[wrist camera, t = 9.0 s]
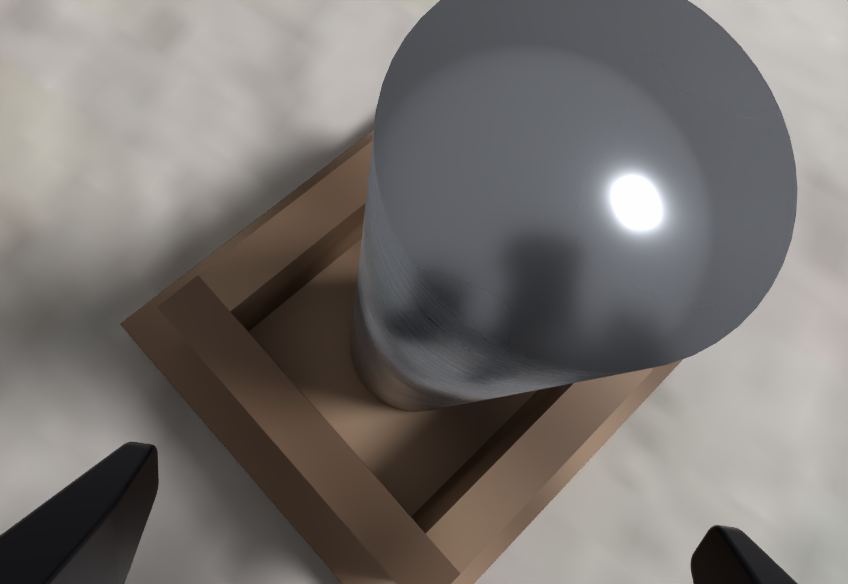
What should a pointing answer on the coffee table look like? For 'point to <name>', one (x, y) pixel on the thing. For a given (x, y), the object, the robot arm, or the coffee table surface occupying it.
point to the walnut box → (361, 402)
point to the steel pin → (563, 198)
